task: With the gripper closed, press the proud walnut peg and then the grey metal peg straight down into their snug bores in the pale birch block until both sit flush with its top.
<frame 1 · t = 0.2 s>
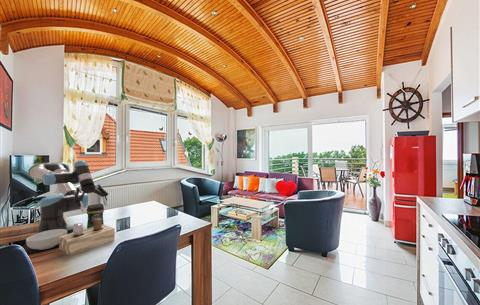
hand: (95, 208, 137), 16 cm above the table, tool tilted 35°, fingers open, 13 cm apart
birch block: (88, 244, 119), on the table
cereal bowl: (47, 246, 116), on the table
metal peg: (78, 230, 115), point 10 cm above the table, slide at 0.0 cm
coffee jar: (95, 232, 137), on the table
walnut peg: (97, 225, 123), point 10 cm above the table, slide at 0.0 cm
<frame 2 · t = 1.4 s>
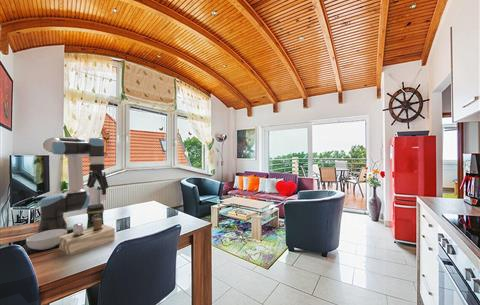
hand: (97, 199, 123), 25 cm above the table, tool pointing down, fingers open, 13 cm apart
nothing on the table moved.
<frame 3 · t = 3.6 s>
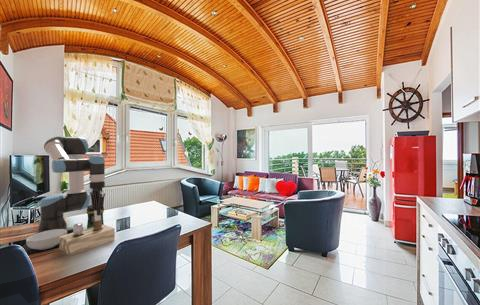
hand: (97, 220, 123), 12 cm above the table, tool pointing down, fingers closed
walnut peg: (97, 226, 123), point 9 cm above the table, slide at 0.9 cm, touching gripper
everything else where it was.
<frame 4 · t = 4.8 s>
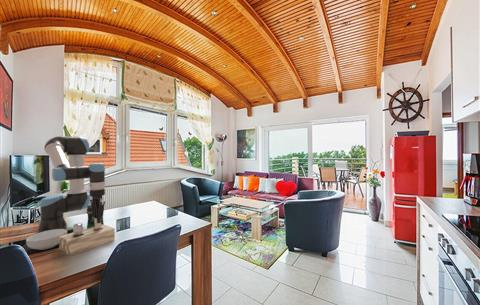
hand: (97, 228, 123), 8 cm above the table, tool pointing down, fingers closed
walnut peg: (97, 234, 123), point 4 cm above the table, slide at 5.5 cm, touching gripper
everything else where it was.
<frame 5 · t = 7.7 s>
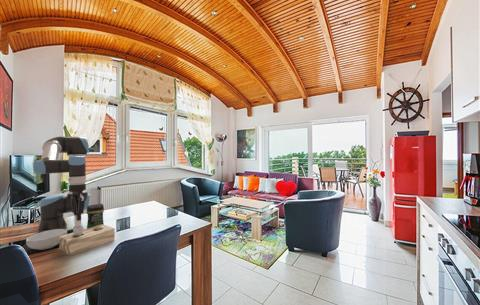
hand: (77, 225, 115), 12 cm above the table, tool pointing down, fingers closed
metal peg: (78, 232, 115), point 9 cm above the table, slide at 1.0 cm, touching gripper
walnut peg: (97, 234, 123), point 4 cm above the table, slide at 5.5 cm
everything else where it was.
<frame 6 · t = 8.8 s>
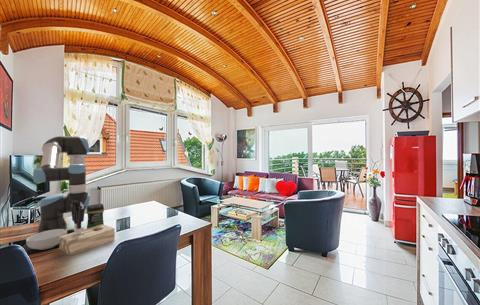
hand: (78, 233, 115), 8 cm above the table, tool pointing down, fingers closed
metal peg: (78, 240, 115), point 4 cm above the table, slide at 5.5 cm, touching gripper
everything else where it was.
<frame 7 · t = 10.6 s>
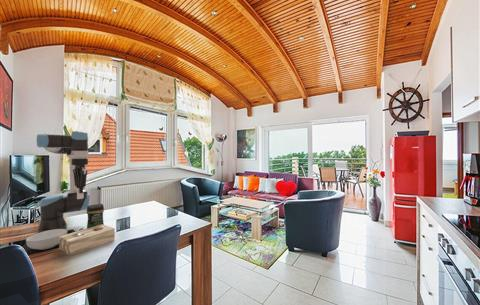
hand: (80, 198, 119), 27 cm above the table, tool pointing down, fingers closed
metal peg: (78, 240, 115), point 4 cm above the table, slide at 5.5 cm
everything else where it was.
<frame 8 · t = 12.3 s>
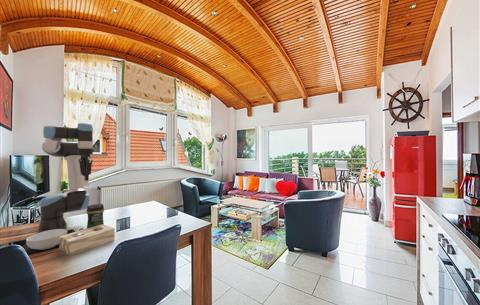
hand: (85, 185, 128), 32 cm above the table, tool pointing down, fingers closed
nothing on the table moved.
at the end: walnut peg slide at 5.5 cm; metal peg slide at 5.5 cm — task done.
